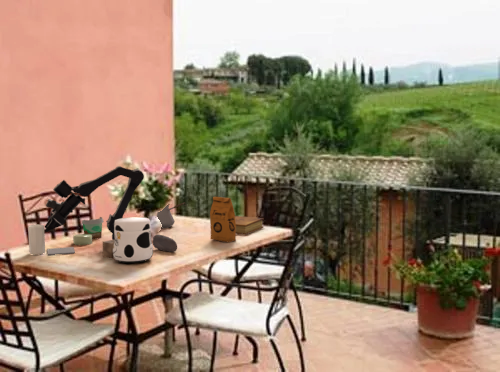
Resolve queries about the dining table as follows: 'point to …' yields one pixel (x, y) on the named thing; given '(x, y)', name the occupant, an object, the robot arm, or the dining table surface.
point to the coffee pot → (167, 216)
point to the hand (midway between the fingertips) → (45, 229)
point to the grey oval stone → (164, 243)
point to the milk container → (132, 240)
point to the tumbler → (36, 239)
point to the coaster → (61, 251)
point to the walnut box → (108, 249)
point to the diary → (247, 224)
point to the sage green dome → (82, 239)
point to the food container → (93, 227)
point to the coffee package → (222, 220)
